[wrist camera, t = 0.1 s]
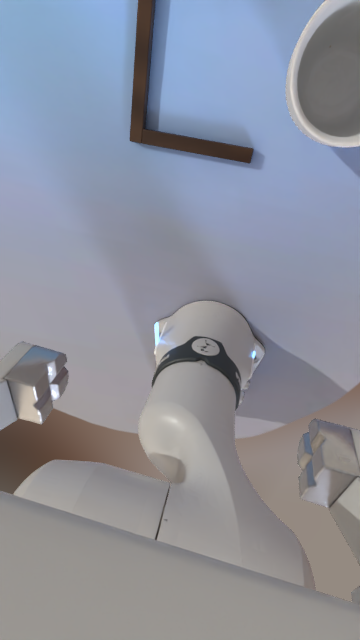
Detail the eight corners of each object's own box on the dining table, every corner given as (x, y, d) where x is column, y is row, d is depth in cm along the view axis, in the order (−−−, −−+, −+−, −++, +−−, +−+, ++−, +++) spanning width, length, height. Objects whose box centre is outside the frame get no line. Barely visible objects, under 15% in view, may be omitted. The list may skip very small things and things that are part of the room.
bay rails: (250, 162, 42) (249, 163, 41) (132, 140, 43) (129, 141, 42) (296, -33, 32) (297, -38, 31) (144, -51, 34) (141, -57, 33)
